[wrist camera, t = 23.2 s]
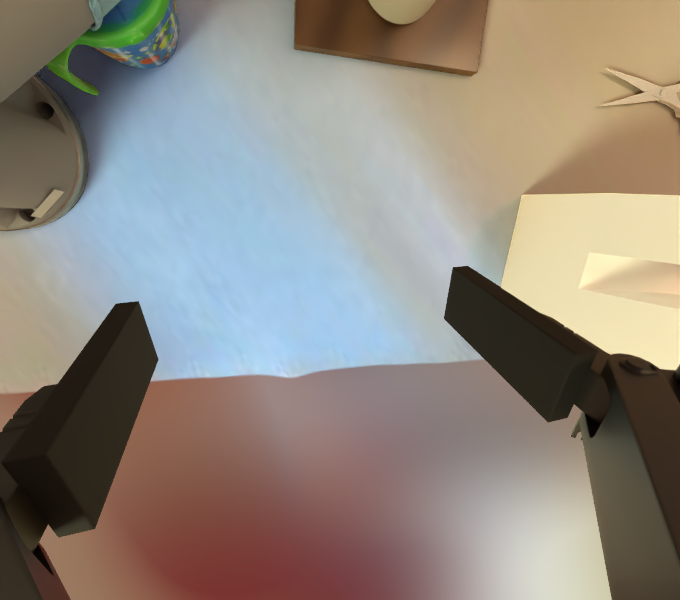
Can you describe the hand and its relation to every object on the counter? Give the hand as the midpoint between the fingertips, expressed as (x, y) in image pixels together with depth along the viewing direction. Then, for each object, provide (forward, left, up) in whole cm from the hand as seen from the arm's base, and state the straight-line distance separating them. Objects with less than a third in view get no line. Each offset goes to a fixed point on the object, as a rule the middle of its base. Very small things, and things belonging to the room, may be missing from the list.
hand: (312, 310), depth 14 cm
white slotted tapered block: (+38, +11, -26) cm, 47 cm away
